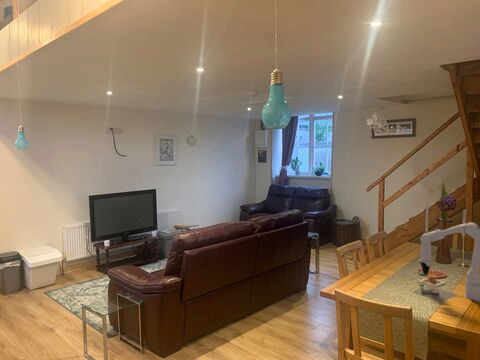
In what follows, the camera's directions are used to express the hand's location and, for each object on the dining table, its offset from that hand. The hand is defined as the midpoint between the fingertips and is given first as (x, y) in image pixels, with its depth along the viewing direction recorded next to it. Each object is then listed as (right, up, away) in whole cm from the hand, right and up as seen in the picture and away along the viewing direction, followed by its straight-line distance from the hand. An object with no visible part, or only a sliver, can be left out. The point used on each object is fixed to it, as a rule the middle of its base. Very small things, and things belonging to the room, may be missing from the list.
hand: (425, 274), depth 227 cm
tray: (+8, -9, +8) cm, 15 cm away
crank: (-2, -9, -9) cm, 13 cm away
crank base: (+1, -10, -10) cm, 14 cm away
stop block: (+8, -8, +8) cm, 14 cm away
